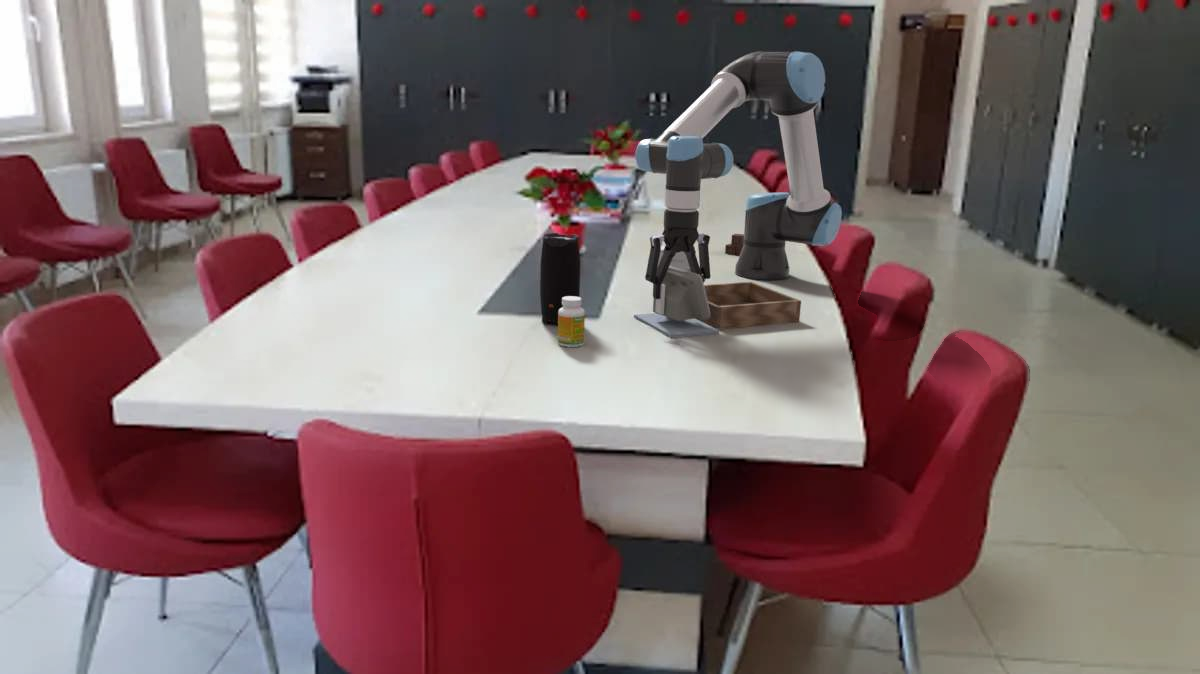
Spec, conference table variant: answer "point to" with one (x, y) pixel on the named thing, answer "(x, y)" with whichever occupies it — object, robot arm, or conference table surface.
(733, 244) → the stack of crates
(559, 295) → the portable speaker
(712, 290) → the walnut tray
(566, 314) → the supplement bottle
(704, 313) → the digital clock
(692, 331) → the slate mat
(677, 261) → the ink box
